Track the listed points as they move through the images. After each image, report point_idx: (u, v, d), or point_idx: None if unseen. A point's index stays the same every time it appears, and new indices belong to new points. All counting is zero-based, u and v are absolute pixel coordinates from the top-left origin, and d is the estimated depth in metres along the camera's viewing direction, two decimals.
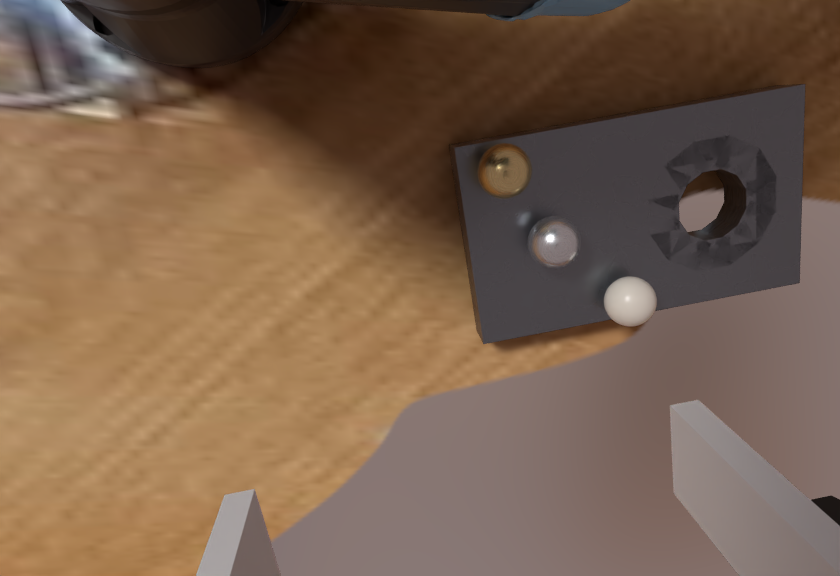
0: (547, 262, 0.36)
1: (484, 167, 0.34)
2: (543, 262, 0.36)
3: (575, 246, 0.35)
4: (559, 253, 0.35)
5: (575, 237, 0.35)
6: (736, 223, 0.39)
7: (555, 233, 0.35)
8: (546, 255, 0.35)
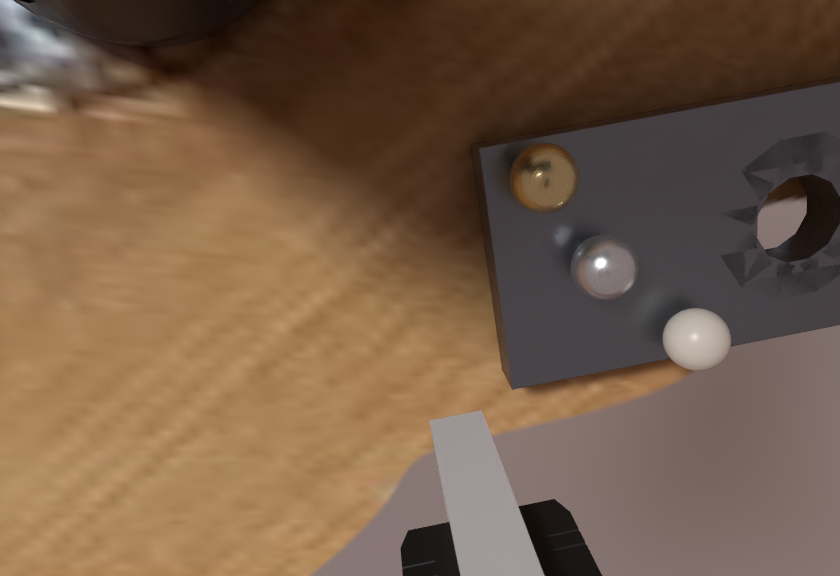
0: (596, 294, 0.28)
1: (519, 174, 0.26)
2: (592, 294, 0.28)
3: (633, 274, 0.28)
4: (613, 283, 0.28)
5: (633, 262, 0.28)
6: (826, 241, 0.32)
7: (608, 258, 0.27)
8: (596, 285, 0.28)
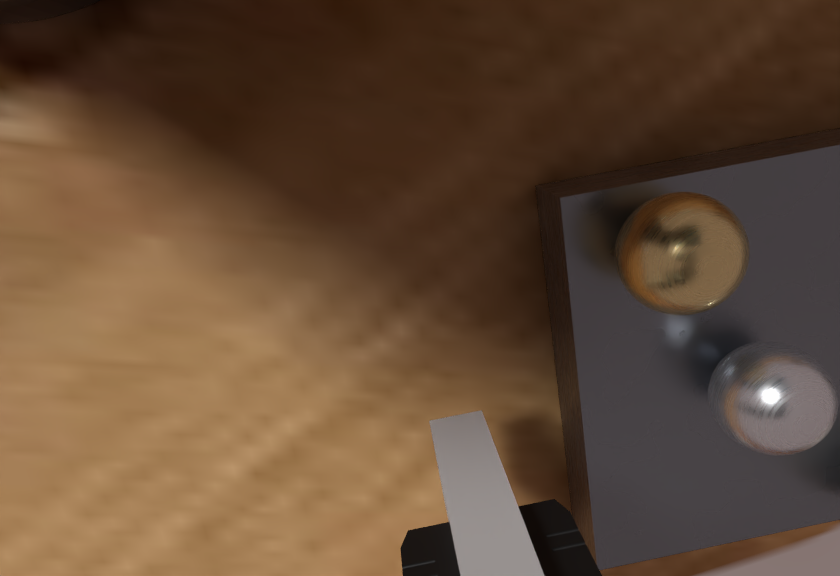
0: (764, 449, 0.16)
1: (644, 250, 0.15)
2: (755, 447, 0.16)
3: (833, 419, 0.16)
4: (801, 436, 0.16)
5: (834, 398, 0.16)
6: None
7: (794, 393, 0.16)
8: (768, 438, 0.16)
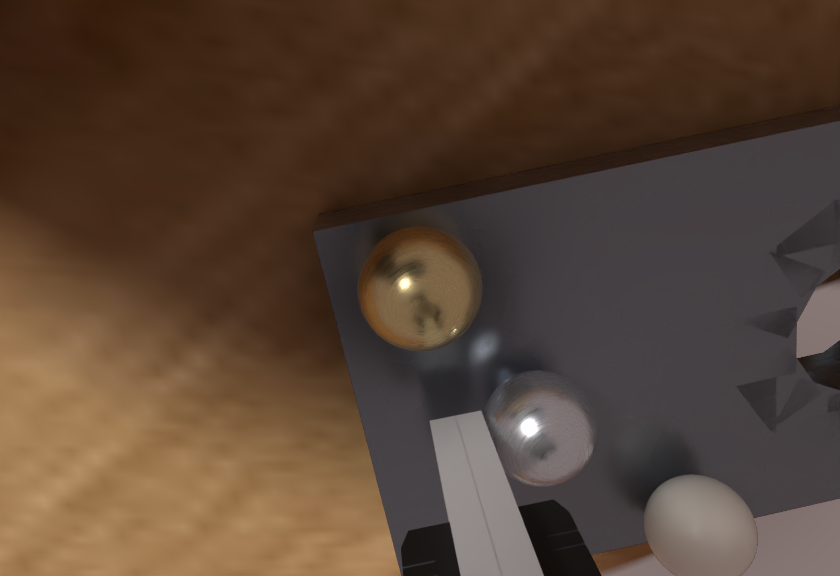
0: (524, 482, 0.16)
1: (366, 288, 0.14)
2: (516, 480, 0.16)
3: (585, 451, 0.16)
4: (550, 470, 0.15)
5: (585, 430, 0.16)
6: None
7: (540, 427, 0.15)
8: (522, 472, 0.16)
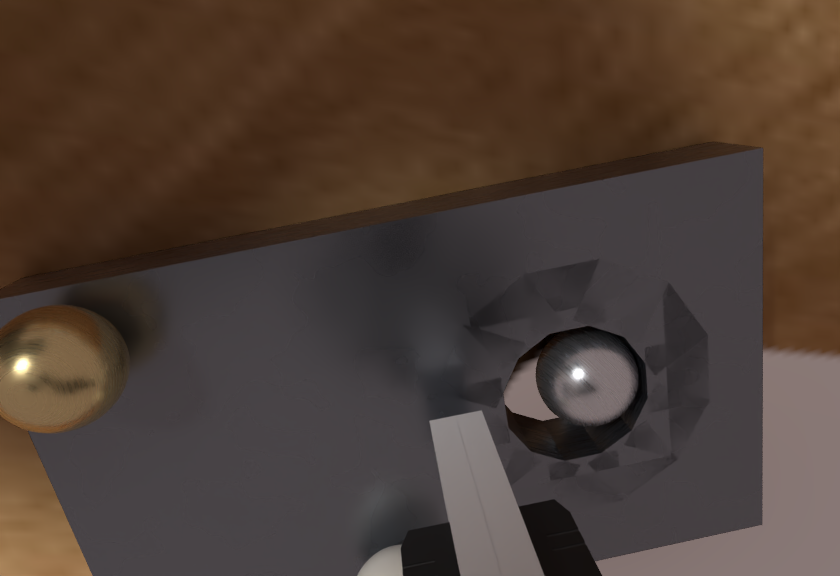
0: (637, 374, 0.18)
1: None
2: (635, 379, 0.18)
3: None
4: None
5: None
6: (630, 424, 0.19)
7: (597, 328, 0.19)
8: (631, 357, 0.19)
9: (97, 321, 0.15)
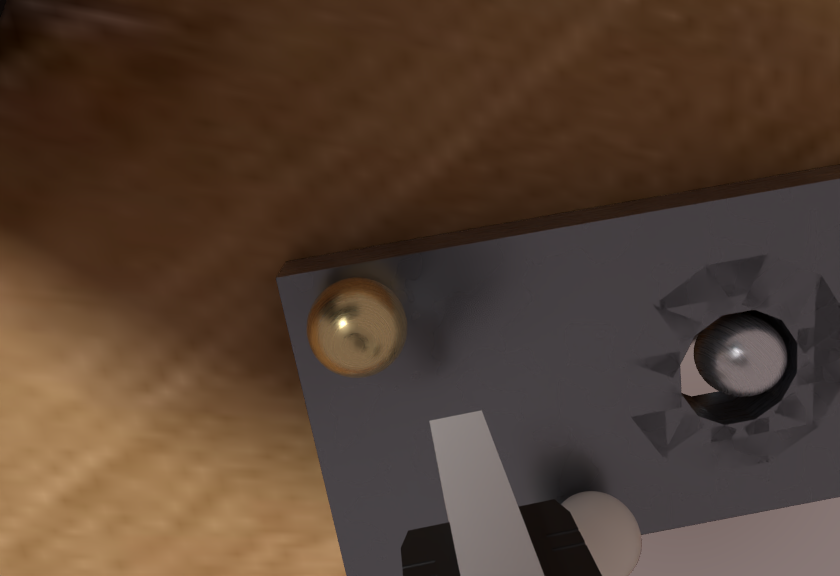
0: None
1: (311, 326, 0.18)
2: (786, 357, 0.22)
3: None
4: None
5: None
6: (779, 395, 0.23)
7: (750, 315, 0.23)
8: (782, 339, 0.22)
9: None
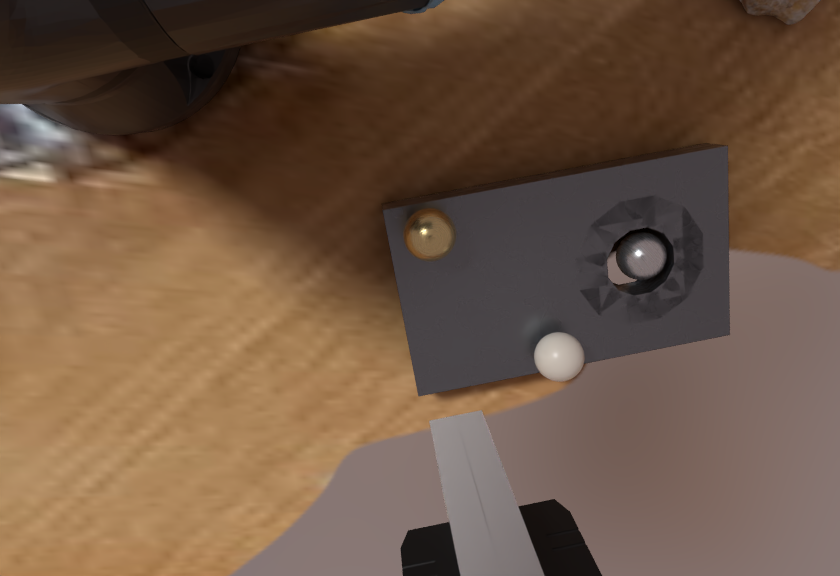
0: (665, 254, 0.39)
1: (408, 232, 0.35)
2: (664, 255, 0.39)
3: None
4: None
5: None
6: (665, 278, 0.40)
7: (648, 233, 0.40)
8: (663, 245, 0.39)
9: None
